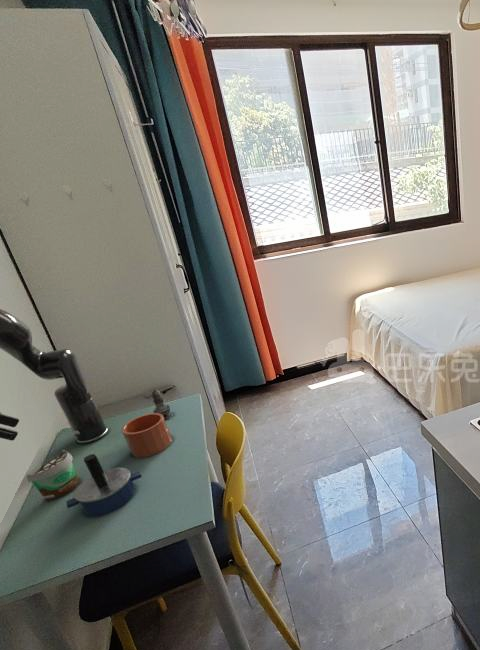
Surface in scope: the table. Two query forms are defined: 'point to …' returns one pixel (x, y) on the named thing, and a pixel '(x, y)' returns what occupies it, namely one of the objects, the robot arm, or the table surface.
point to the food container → (55, 477)
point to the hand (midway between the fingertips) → (16, 429)
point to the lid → (100, 481)
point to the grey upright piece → (161, 405)
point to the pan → (109, 499)
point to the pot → (147, 435)
